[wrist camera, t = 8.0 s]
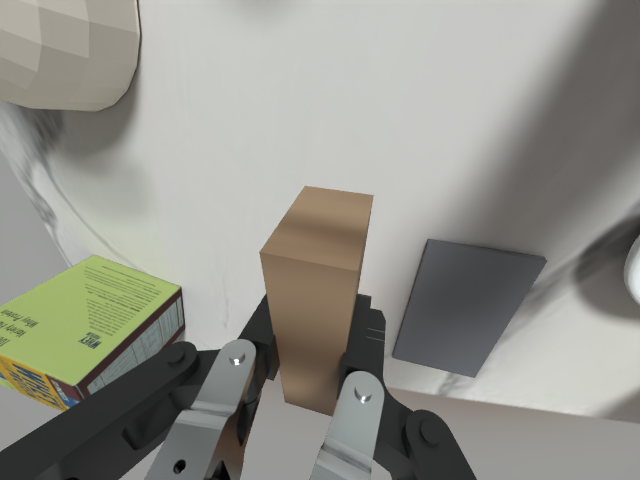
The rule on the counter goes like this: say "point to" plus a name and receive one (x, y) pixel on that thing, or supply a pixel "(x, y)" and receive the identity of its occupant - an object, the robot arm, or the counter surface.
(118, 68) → the kettle
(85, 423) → the robot arm
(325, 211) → the tall tan post
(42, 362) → the protein box
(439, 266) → the mat
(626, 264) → the spoon rest
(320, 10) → the counter surface
